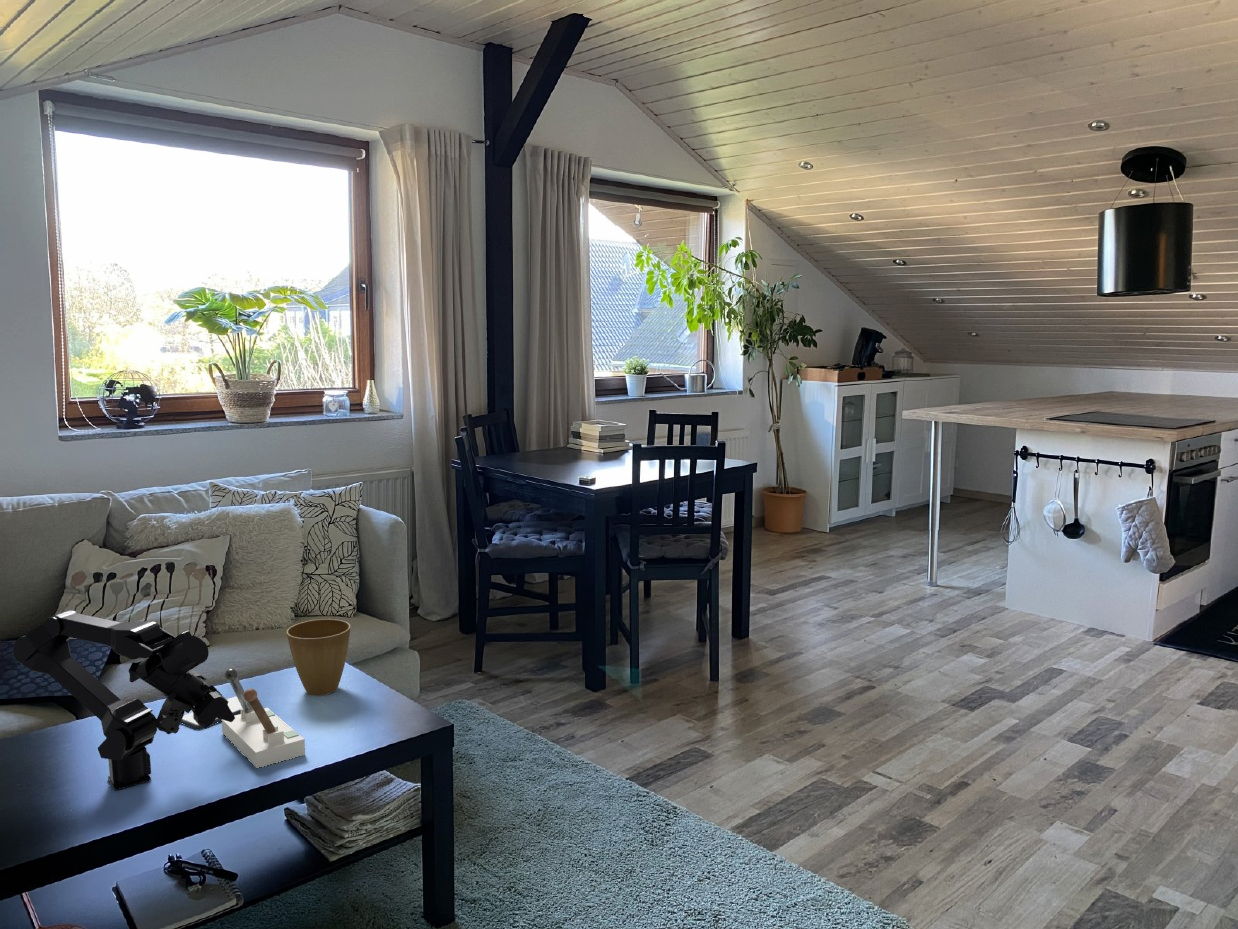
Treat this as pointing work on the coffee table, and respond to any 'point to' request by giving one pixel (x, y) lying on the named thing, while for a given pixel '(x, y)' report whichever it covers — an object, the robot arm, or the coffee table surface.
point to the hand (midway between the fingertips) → (233, 719)
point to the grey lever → (238, 689)
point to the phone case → (233, 706)
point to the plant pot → (319, 653)
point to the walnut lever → (259, 710)
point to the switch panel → (263, 739)
